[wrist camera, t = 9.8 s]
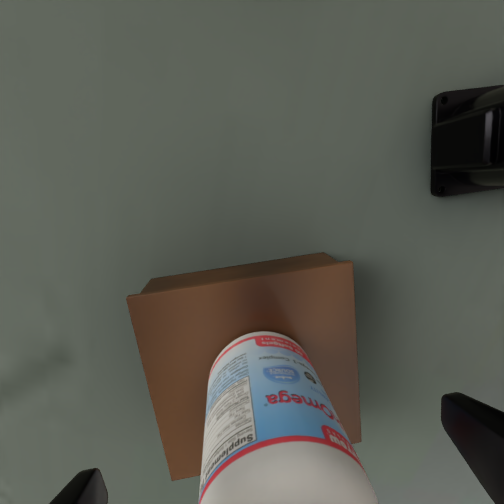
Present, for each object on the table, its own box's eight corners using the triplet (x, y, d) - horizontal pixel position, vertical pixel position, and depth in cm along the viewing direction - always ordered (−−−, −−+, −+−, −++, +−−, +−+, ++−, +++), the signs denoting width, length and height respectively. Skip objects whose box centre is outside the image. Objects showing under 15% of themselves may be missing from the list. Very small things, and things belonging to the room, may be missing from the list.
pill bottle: (328, 365, 17) (509, 665, 7) (261, 433, 18) (324, 812, 7) (256, 306, 16) (331, 562, 5) (186, 381, 17) (120, 753, 6)
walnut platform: (327, 247, 20) (353, 261, 16) (338, 399, 23) (361, 442, 19) (145, 275, 19) (125, 297, 15) (180, 429, 22) (171, 481, 18)
